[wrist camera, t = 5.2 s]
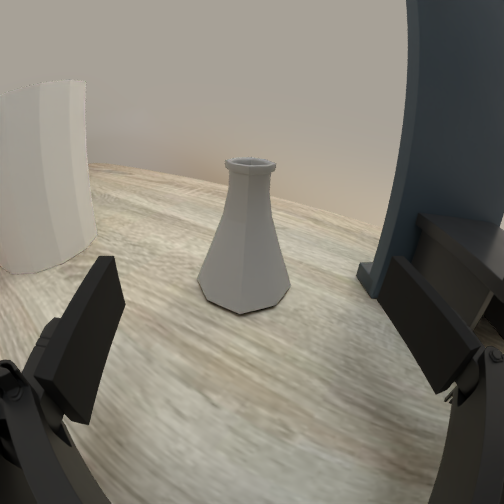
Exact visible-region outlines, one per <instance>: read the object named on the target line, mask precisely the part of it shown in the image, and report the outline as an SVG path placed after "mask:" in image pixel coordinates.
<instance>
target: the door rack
mask: <svg viewBox="0 0 504 504" xmlns="http://www.w3.org/2000/svg"><path fill="white" fill-rule="evenodd" d="M406 6H407V24H408V66H407V86H406V99H405V110H404V119H403V127H402V135H401V141H400V148H399V154H398V160H397V166H396V172H395V177H394V182H393V187H392V191H391V196H390V200H389V205H388V209H387V214H386V218H385V222H384V225H383V229H382V233H381V237H380V240H379V244H378V247H377V251H376V254H375V258H374V261H373V262H365V263H360V264H359V268H358V271H357V274H356V276H357V278H358V279H359V281H360V282H361V284H362V285H363V287H364V288H365V290H366V291H367V292H368V294H369V295H370V297H371V298H377V297H378V294H379V292H380V289H381V286H382V284H383V281H384V278H385V275H386V272H387V269H388V267H389V264H390V261H391V257H392V256H404V257H405V258H406V259H407V260H408V261H409V262H410V263H411V264H412V265H413V266H414V267H415V268H416V269H417V271H418V272H419V273H420V274H421V275H422V276H423V277H424V278H425V279H426V280H427V281H428V282H429V283H430V284H431V285H432V287H433V288H434V289H435V290H436V291H437V292H438V293H439V294H440V296H441V297H442V298H443V299H444V300H445V301H446V302H447V304H448V305H449V306H450V307H451V308H453V309H454V310H455V311H457V313H458V314H459V315H460V316H461V317H462V320H464V321H465V322H466V323H467V326H469V327H470V328H471V330H472V331H473V330H474V328H475V327H476V325H477V323H478V322H479V320H480V318H481V317H482V315H484V316H485V317H486V318H487V319H488V320H489V322H490V323H491V324H492V325H493V326H494V328H495V329H496V330H497V331H498V333H499V334H500V335H501V336H502V338H503V339H504V230H502V229H501V228H500V224H501V221H502V217H503V214H504V0H406Z"/></svg>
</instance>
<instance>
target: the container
mask: <svg viewBox="0 0 504 504" xmlns="http://www.w3.org/2000/svg"><path fill="white" fill-rule="evenodd" d="M85 97H86V81H79V80H60V81H51V82H43V83H37V84H33V85H29V86H26V87H22V88H18V89H15V90H12V91H8V92H5V93H3V94H1V95H0V266H1V267H2V268H3V269H5V270H6V271H8V272H9V273H11V274H31V273H37V272H40V271H43V270H46V269H48V268H51V267H54V266H57V265H60V264H63V263H65V262H66V261H68V260H69V259H71V258H72V257H74V256H76V255H77V254H79V253H80V252H82V251H84V250H85V249H87V247H88V246H89V245H90V244H91V242H92V241H93V240H94V239H95V237H96V236H97V235H98V234H97V228H96V222H95V216H94V210H93V203H92V196H91V188H90V180H89V170H88V159H87V147H86V146H87V145H86V117H85V116H86V115H85V104H86V103H85V101H86V98H85Z"/></svg>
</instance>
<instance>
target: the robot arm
mask: <svg viewBox="0 0 504 504" xmlns="http://www.w3.org/2000/svg"><path fill="white" fill-rule="evenodd" d="M377 301H378V302H379V303H380V305H381V306H382V308H383V309H384V311H385V312H386V314H387V315H388V317H389V318H390V320H391V321H392V323H393V324H394V326H395V328H396V329H397V331H398V332H399V334H400V335H401V337H402V339H403V340H404V342H405V343H406V345H407V347H408V348H409V350H410V351H411V353H412V355H413V356H414V358H415V360H416V361H417V363H418V365H419V366H420V368H421V370H422V371H423V373H424V375H425V377H426V378H427V380H428V382H429V384H430V385H431V387H432V389H433V391H434V393H435V394H438V393H441V392H443V391H445V390H447V389H448V388H449V387H450V386H451V385H452V383H453V382H454V381H455V382H456V384H457V386H456V387H455V388H454V389H453V390H452V391H451V392H450V393H449V395H448V396H447V397H446V398H445V401H444V402H447V401H448V399H449V398H450V397H451V396H453V398H452V399H451V400H450V401H449V403H450V404H452V406H451V414H450V420H449V426H448V432H447V437H446V442H445V447H444V451H443V455H442V460H441V463H440V467H439V471H438V474H437V478H436V481H435V484H434V487H433V490H432V493H431V496H430V499H429V502H428V504H504V355H503V354H502V353H501V352H500V351H499V350H498V349H497V348H495V347H493V346H488V347H486V348H485V346H484V345H483V344H482V343H481V341H480V340H479V339H478V337H477V336H476V335H475V333H474V332H473V331H472V330H471V328H470V327H469V326H467V323H466V322H465V321H464V320H462V317H461V316H460V315H459V314H458V313H457V311H455V310H454V309H453V308H451V307H450V306H449V305H448V304H447V302H446V301H445V300H444V299H443V298H442V297H441V296H440V294H439V293H438V292H437V291H436V290H435V289H434V288H433V287H432V285H431V284H430V283H429V282H428V281H427V280H426V279H425V278H424V277H423V276H422V275H421V274H420V273H419V272H418V271H417V269H416V268H415V267H414V266H413V265H412V264H411V263H410V262H409V261H408V260H407V259H406V258H405V257H404V256H392V257H391V261H390V264H389V267H388V269H387V272H386V275H385V278H384V281H383V284H382V286H381V289H380V292H379V294H378V297H377ZM125 305H126V304H125V301H124V297H123V293H122V289H121V285H120V281H119V277H118V272H117V268H116V263H115V258H114V256H99V257H98V258H97V260H96V261H95V263H94V264H93V266H92V267H91V269H90V271H89V272H88V274H87V275H86V277H85V278H84V280H83V282H82V283H81V285H80V286H79V288H78V290H77V291H76V293H75V295H74V296H73V298H72V300H71V301H70V303H69V305H68V307H67V308H66V310H65V312H64V314H63V315H62V317H61V318H55V317H54V318H53V319H52V320H51V321H50V322H49V323H48V324H47V325H46V326H45V328H44V329H43V331H42V333H41V335H40V338H39V339H38V341H37V343H36V346H34V348H33V350H32V352H31V354H30V356H29V358H28V360H27V363H26V365H25V367H24V369H23V371H22V373H21V372H20V370H19V369H18V368H17V366H16V365H15V364H14V363H13V362H12V361H11V360H1V361H0V504H111V502H110V501H109V499H108V498H107V497H106V495H105V494H104V492H103V491H102V489H101V488H100V486H99V485H98V483H97V482H96V480H95V479H94V477H93V476H92V474H91V472H90V471H89V469H88V467H87V466H86V464H85V462H84V460H83V459H82V457H81V455H80V453H79V451H78V450H77V448H76V446H75V444H74V442H73V440H72V438H71V436H70V434H69V432H68V430H67V428H66V425H65V424H64V422H63V421H62V419H63V415H64V414H65V415H66V416H67V417H68V418H69V419H70V420H71V421H74V422H77V423H81V424H86V425H89V423H90V419H91V414H92V410H93V406H94V402H95V398H96V395H97V391H98V387H99V384H100V380H101V377H102V373H103V370H104V366H105V363H106V360H107V357H108V354H109V350H110V347H111V344H112V341H113V338H114V335H115V333H116V330H117V327H118V324H119V321H120V318H121V316H122V313H123V310H124V308H125Z"/></svg>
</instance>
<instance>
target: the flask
mask: <svg viewBox="0 0 504 504" xmlns="http://www.w3.org/2000/svg"><path fill="white" fill-rule="evenodd" d="M225 166H226V168H227V169H228V170H229V188H228V193H227V198H226V202H225V207H224V212H223V215H222V217H221V220H220V223H219V225H218V228H217V230H216V233H215V236H214V238H213V241H212V243H211V246H210V248H209V251H208V253H207V255H206V258H205V260H204V262H203V265H202V267H201V270H200V272H199V275H198V278H197V279H198V281H199V283H200V286H201V288H202V290H203V292H204V294H205V296H206V299H207V300H209V301H211V302H214V303H216V304H218V305H220V306H223V307H225V308H227V309H229V310H232V311H234V312H236V313H239V314H242V313H247V312H251V311H255V310H259V309H263V308H266V307H270V306H274V305H276V304H277V303H278V302H279V301H280V299H281V298H282V297H283V295H284V294H285V293H286V291H287V290H288V289H289V287H290V286H291V284H290V280H289V277H288V273H287V270H286V266H285V263H284V259H283V256H282V253H281V249H280V246H279V242H278V238H277V234H276V230H275V226H274V223H273V219H272V212H271V203H270V193H269V190H270V177H271V172H273V171H275V168H276V163H273V162H271V161H268V160H265V159H258V158H252V157H247V158H233V159H229V160H225Z"/></svg>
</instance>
